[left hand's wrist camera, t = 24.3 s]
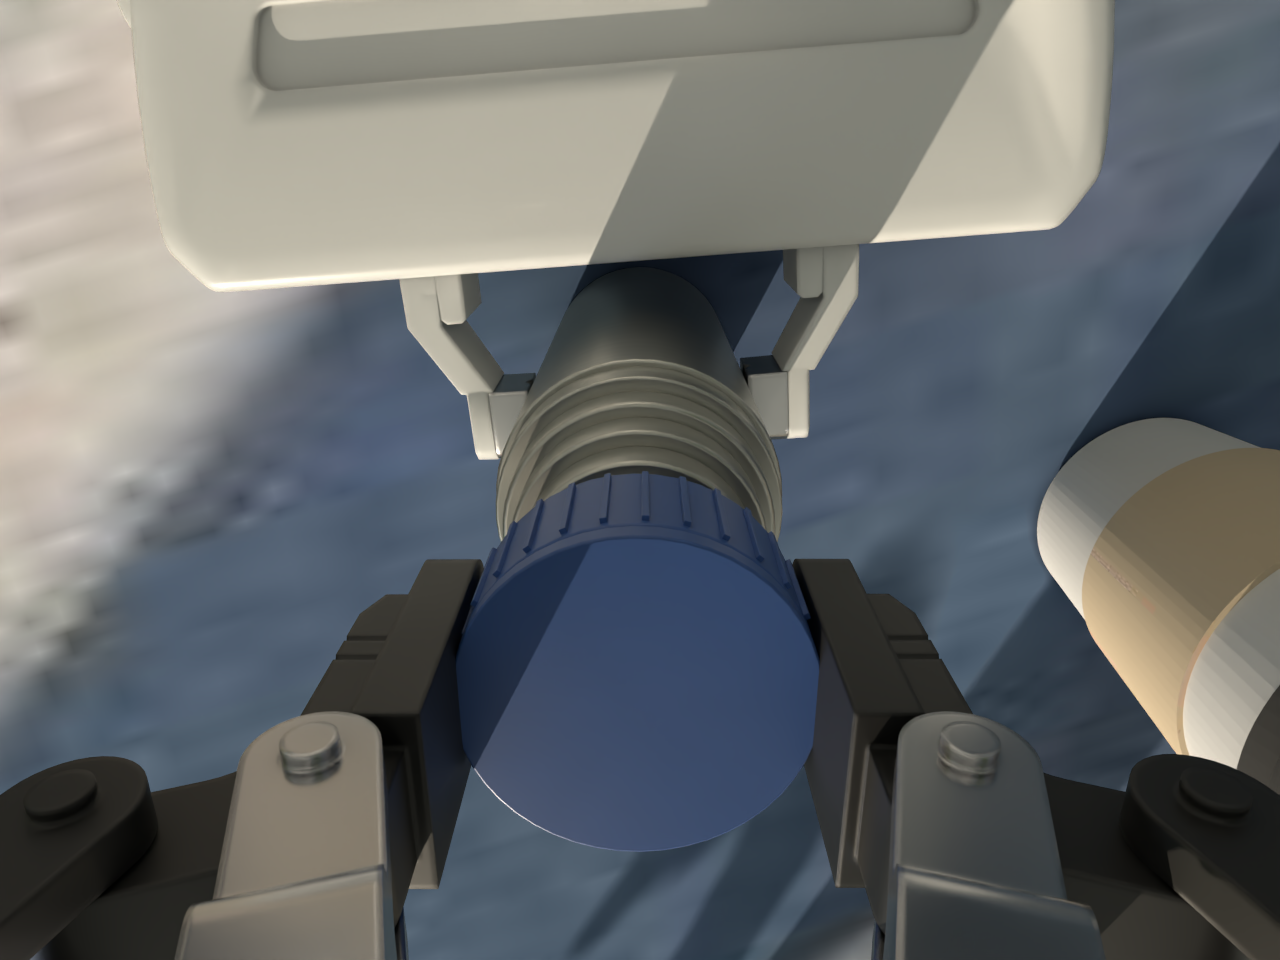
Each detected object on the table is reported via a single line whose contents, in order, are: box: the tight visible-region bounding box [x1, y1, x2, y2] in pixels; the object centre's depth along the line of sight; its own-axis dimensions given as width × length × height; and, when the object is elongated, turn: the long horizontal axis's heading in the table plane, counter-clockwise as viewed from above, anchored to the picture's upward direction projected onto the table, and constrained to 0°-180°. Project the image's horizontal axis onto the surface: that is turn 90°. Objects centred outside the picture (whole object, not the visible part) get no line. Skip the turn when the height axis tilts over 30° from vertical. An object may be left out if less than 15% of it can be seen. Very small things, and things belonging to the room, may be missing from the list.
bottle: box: [496, 267, 782, 542], centre depth 19 cm, size 5×5×18 cm
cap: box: [456, 471, 820, 852], centre depth 11 cm, size 4×4×2 cm
